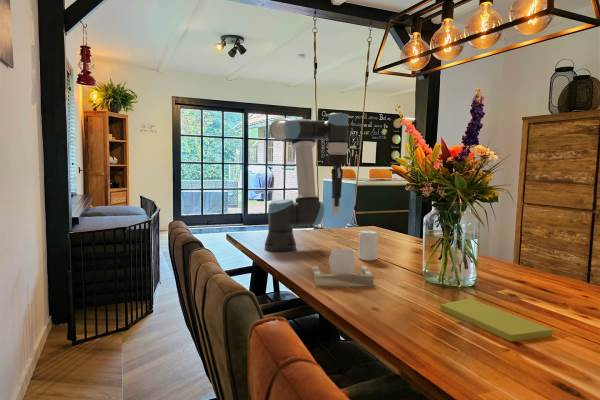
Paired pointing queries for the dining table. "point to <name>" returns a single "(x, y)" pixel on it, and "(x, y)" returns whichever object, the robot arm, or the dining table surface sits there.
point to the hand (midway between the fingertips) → (335, 214)
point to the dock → (343, 278)
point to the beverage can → (368, 245)
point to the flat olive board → (495, 320)
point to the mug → (342, 261)
